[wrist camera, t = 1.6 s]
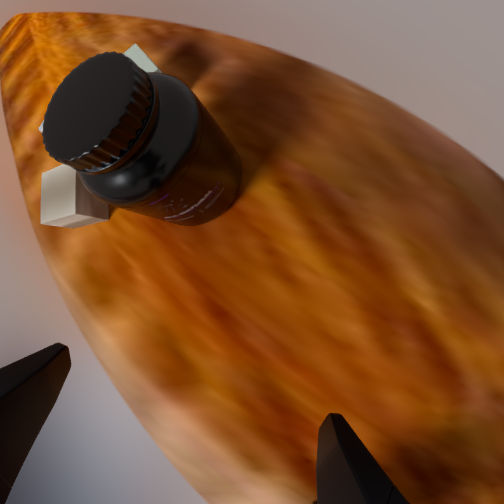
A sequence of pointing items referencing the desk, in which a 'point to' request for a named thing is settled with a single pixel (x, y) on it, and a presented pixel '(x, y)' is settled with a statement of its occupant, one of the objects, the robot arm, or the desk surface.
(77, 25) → the desk surface
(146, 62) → the sage block
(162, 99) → the supplement bottle
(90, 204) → the birch block
